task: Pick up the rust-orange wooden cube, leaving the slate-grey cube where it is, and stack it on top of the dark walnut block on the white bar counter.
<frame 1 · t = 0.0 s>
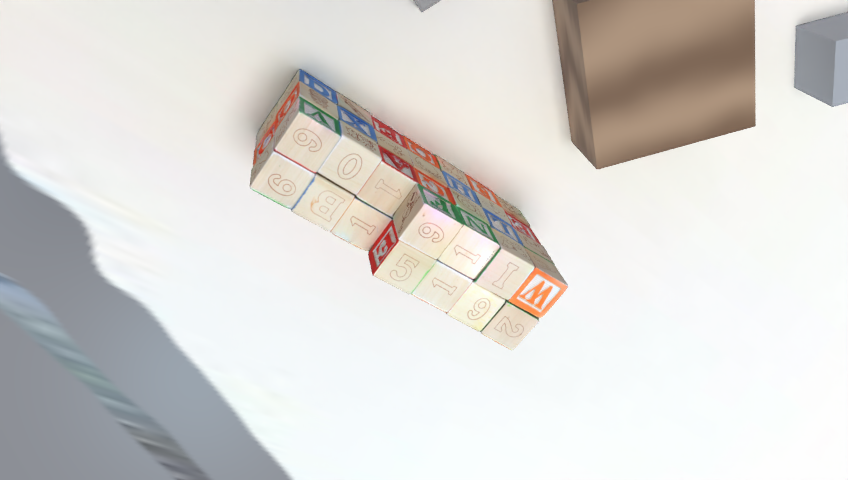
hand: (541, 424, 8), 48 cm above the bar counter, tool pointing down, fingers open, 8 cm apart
walnut block: (636, 47, 57), on the bar counter
stack of blocks: (395, 174, 59), on the bar counter
grey cube: (824, 48, 59), on the bar counter
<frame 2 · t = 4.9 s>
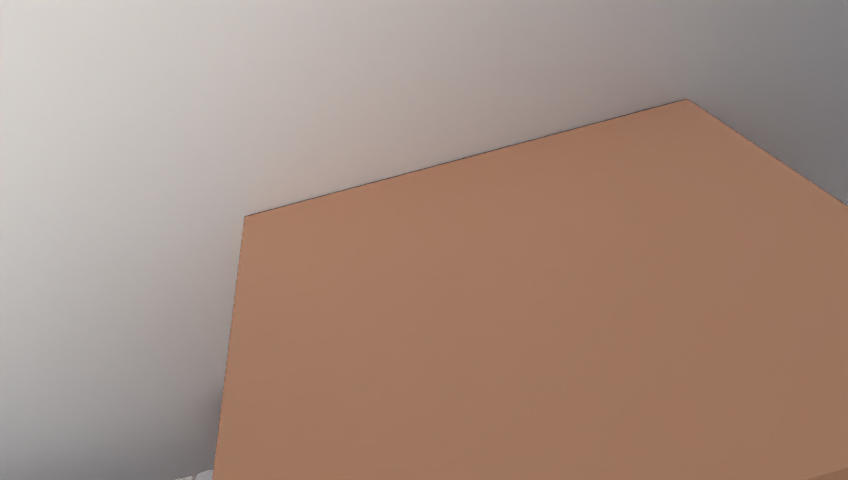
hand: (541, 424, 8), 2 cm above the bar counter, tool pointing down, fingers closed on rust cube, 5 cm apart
rust cube: (504, 337, 9), on the bar counter, touching gripper
when the fingers open (9 cm above the bar counter, at t = 11.1 s): rust cube drops 2 cm, point 6 cm above the bar counter.
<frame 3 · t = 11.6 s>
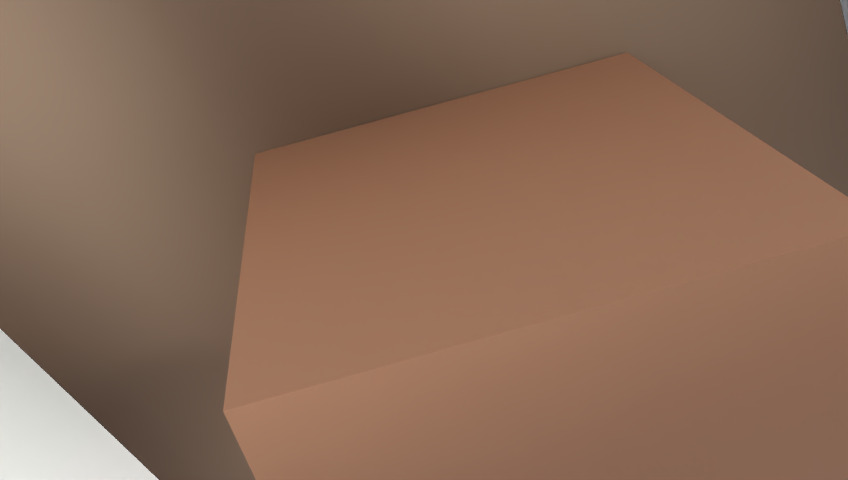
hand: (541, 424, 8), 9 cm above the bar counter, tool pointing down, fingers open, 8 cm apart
walnut block: (411, 125, 16), on the bar counter
rust cube: (478, 262, 11), point 6 cm above the bar counter
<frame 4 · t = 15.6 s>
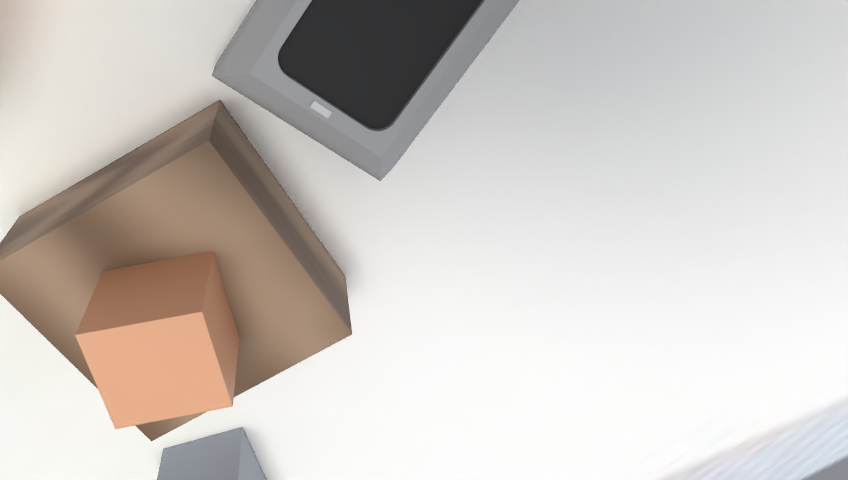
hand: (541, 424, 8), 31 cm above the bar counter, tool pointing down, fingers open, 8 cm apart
walnut block: (192, 245, 41), on the bar counter, touching rust cube
rust cube: (173, 306, 36), point 6 cm above the bar counter, touching walnut block
grey cube: (217, 465, 48), on the bar counter
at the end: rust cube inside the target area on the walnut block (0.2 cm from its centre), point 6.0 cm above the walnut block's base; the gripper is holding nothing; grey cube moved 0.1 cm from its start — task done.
